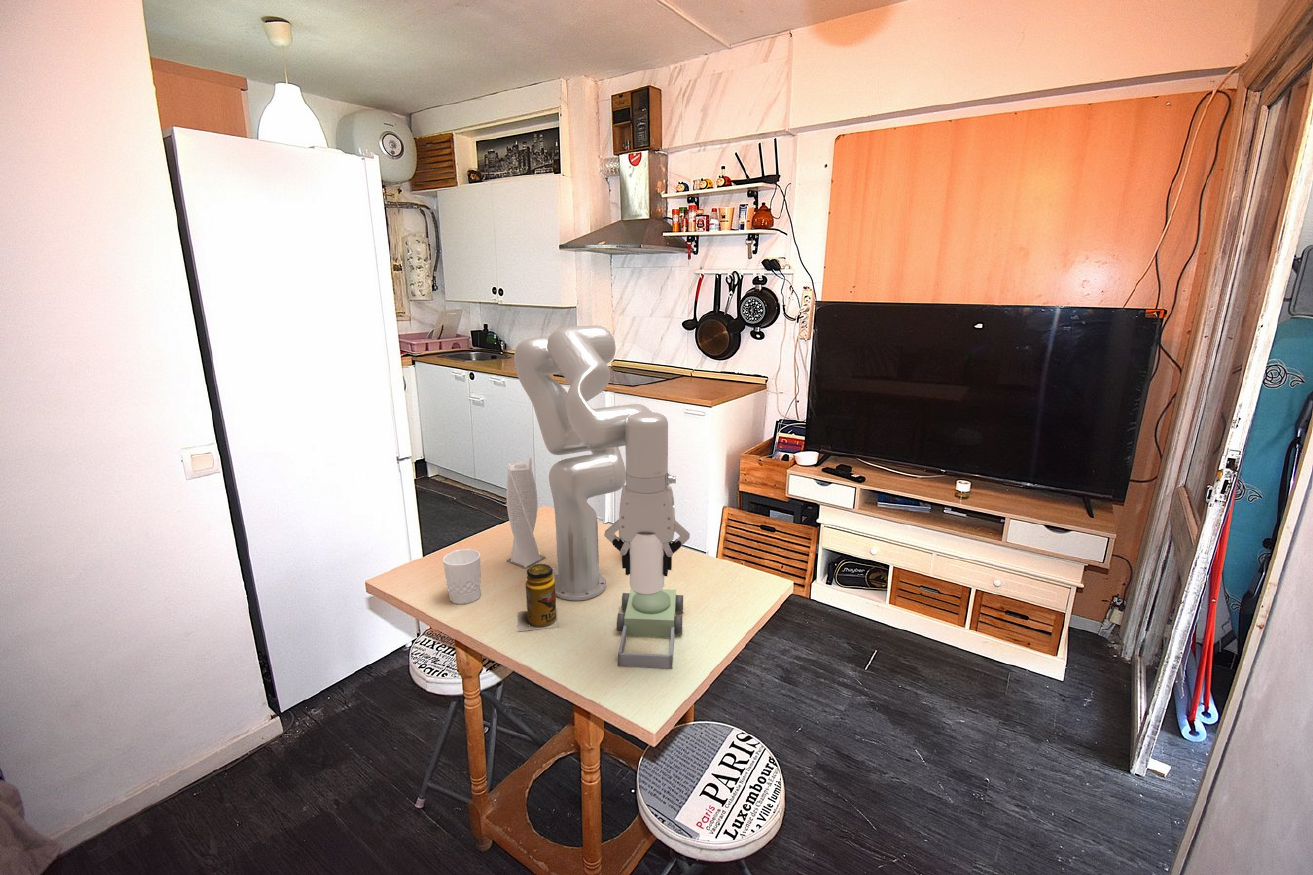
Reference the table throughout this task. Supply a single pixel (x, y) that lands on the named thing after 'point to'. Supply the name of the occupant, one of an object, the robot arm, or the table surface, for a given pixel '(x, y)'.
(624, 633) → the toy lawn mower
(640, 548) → the can
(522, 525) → the skyscraper
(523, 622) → the condiment
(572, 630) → the table surface
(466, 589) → the white cup
